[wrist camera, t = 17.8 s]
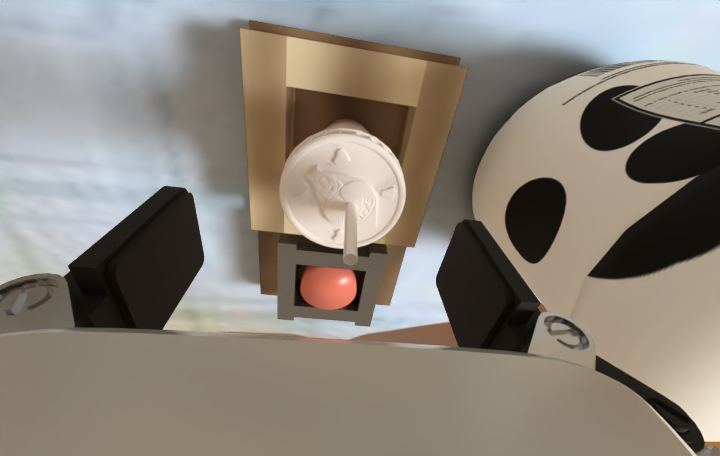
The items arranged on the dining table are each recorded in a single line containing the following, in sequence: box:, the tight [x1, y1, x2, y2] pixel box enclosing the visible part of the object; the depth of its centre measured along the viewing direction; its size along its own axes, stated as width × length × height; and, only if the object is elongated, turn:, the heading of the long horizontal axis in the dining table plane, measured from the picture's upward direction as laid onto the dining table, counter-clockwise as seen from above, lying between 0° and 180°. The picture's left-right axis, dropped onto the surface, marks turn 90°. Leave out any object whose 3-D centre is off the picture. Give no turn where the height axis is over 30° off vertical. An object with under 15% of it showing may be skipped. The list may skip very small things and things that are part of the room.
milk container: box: [472, 60, 720, 441], centre depth 18 cm, size 17×17×18 cm
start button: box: [300, 265, 357, 310], centre depth 27 cm, size 5×5×3 cm
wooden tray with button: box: [240, 20, 469, 327], centre depth 24 cm, size 14×24×5 cm, turn 171°
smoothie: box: [279, 118, 406, 265], centre depth 17 cm, size 6×6×14 cm
